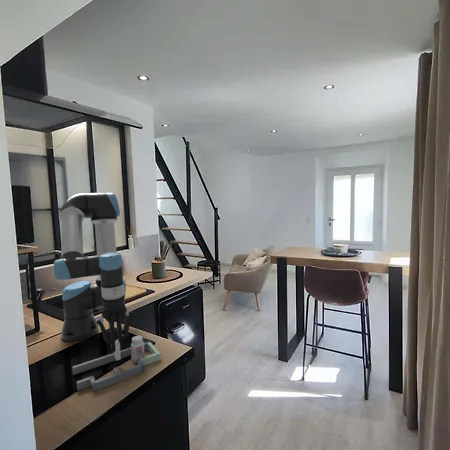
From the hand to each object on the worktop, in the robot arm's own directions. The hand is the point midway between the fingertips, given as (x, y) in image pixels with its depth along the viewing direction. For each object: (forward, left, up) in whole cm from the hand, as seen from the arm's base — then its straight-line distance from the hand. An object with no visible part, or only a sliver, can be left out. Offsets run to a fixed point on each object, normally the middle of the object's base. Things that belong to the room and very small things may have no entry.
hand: (117, 358), depth 104 cm
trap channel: (+2, 0, -3) cm, 4 cm away
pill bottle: (0, +7, -3) cm, 8 cm away
